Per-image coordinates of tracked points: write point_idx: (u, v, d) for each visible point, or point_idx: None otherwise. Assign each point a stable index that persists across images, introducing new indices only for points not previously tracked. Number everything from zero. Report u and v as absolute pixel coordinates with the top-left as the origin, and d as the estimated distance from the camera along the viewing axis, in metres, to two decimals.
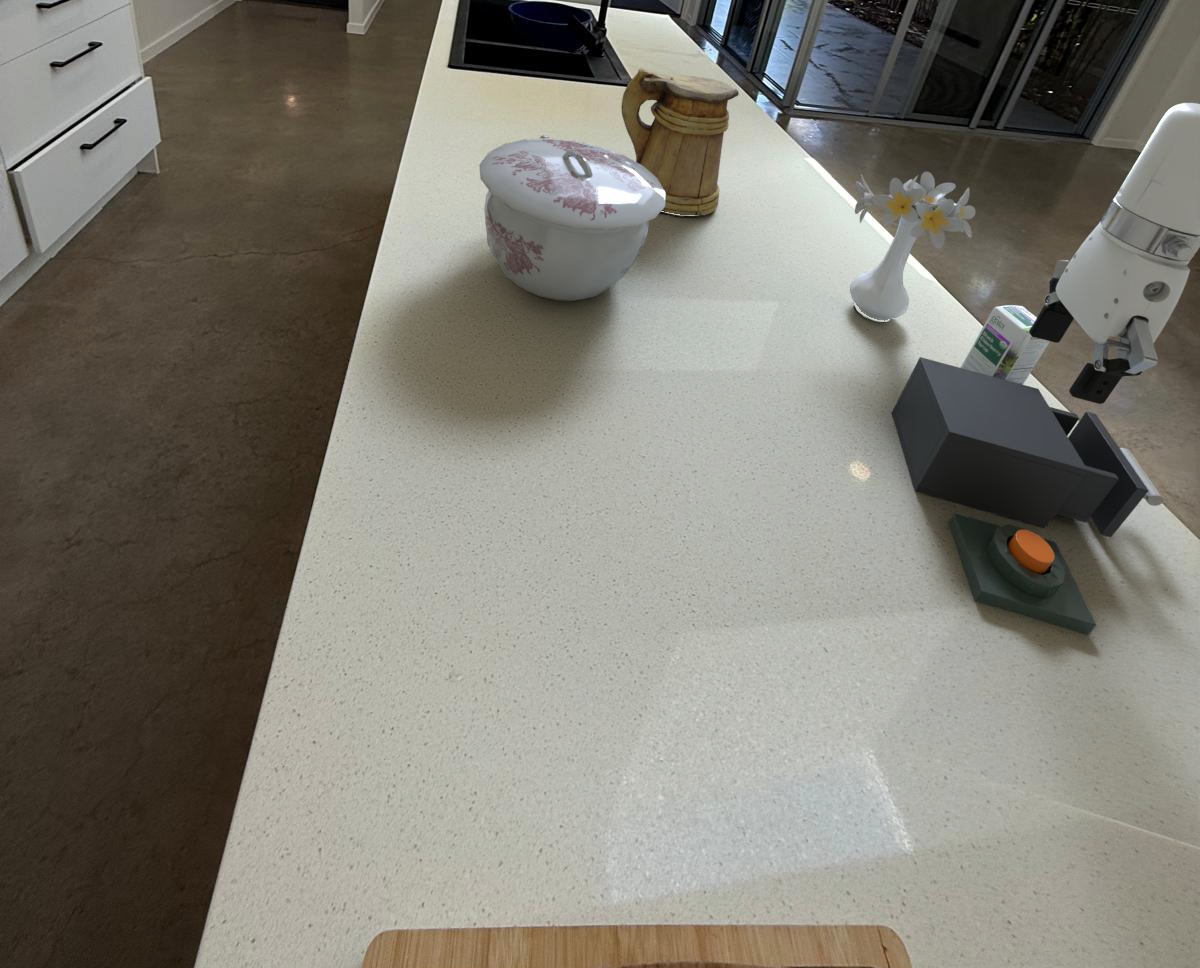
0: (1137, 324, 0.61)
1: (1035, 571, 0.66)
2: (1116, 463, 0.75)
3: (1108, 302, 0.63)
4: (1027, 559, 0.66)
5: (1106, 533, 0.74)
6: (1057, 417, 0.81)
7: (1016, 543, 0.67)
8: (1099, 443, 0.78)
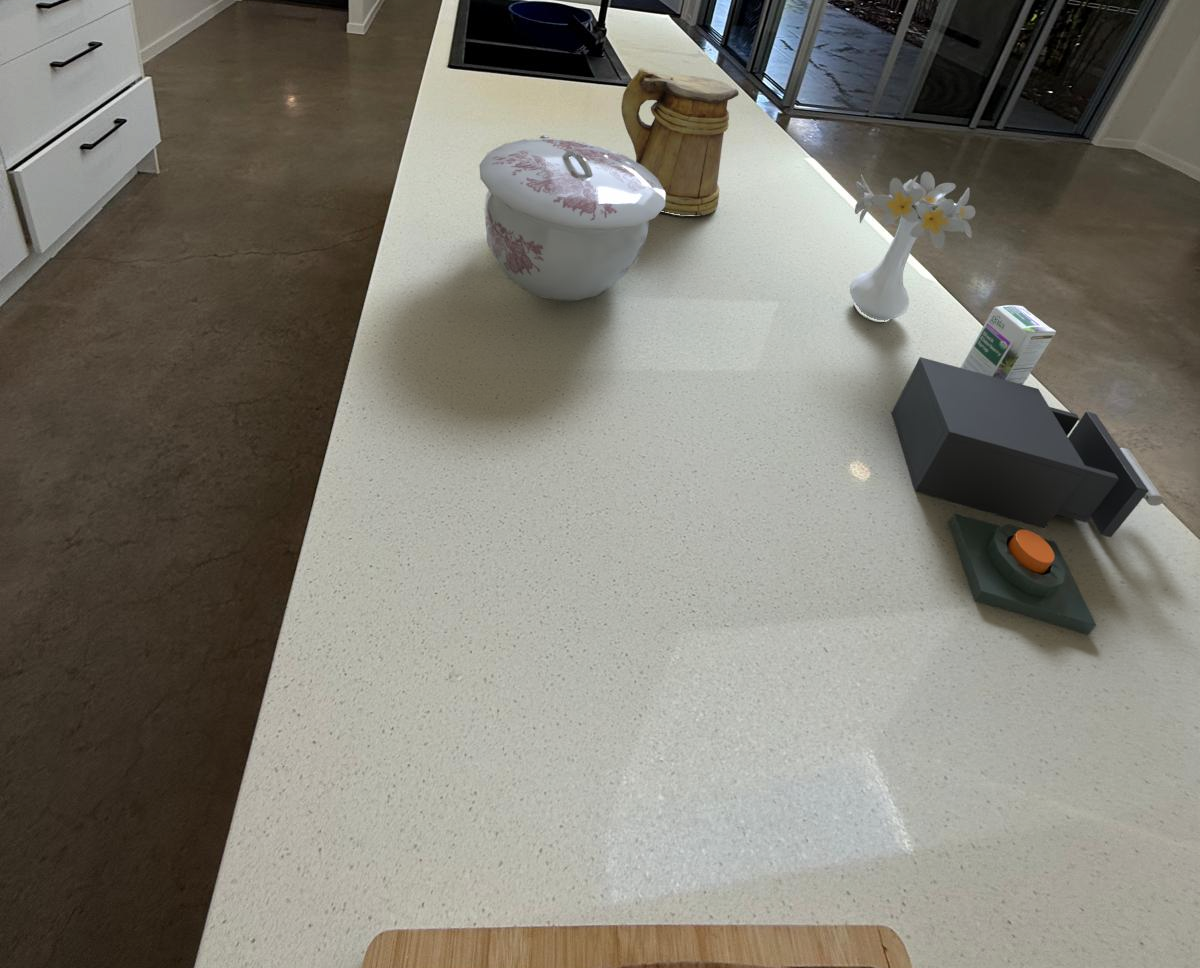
0: None
1: (1035, 571, 0.66)
2: (1116, 463, 0.75)
3: None
4: (1027, 559, 0.66)
5: (1106, 533, 0.74)
6: (1057, 417, 0.81)
7: (1016, 543, 0.67)
8: (1099, 443, 0.78)
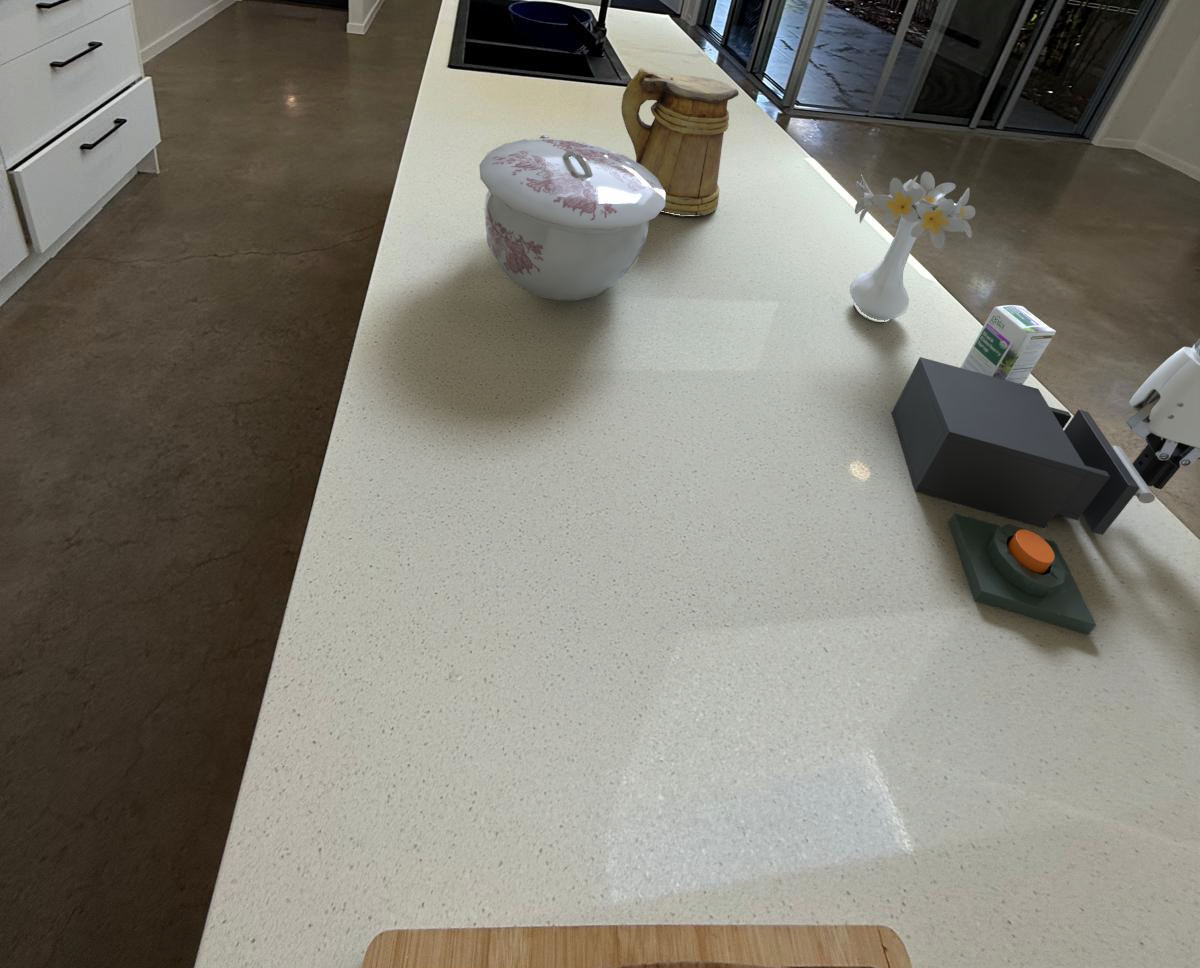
0: None
1: (1035, 571, 0.66)
2: (1107, 461, 0.75)
3: None
4: (1027, 559, 0.66)
5: (1098, 531, 0.74)
6: None
7: (1016, 543, 0.67)
8: (1090, 441, 0.78)
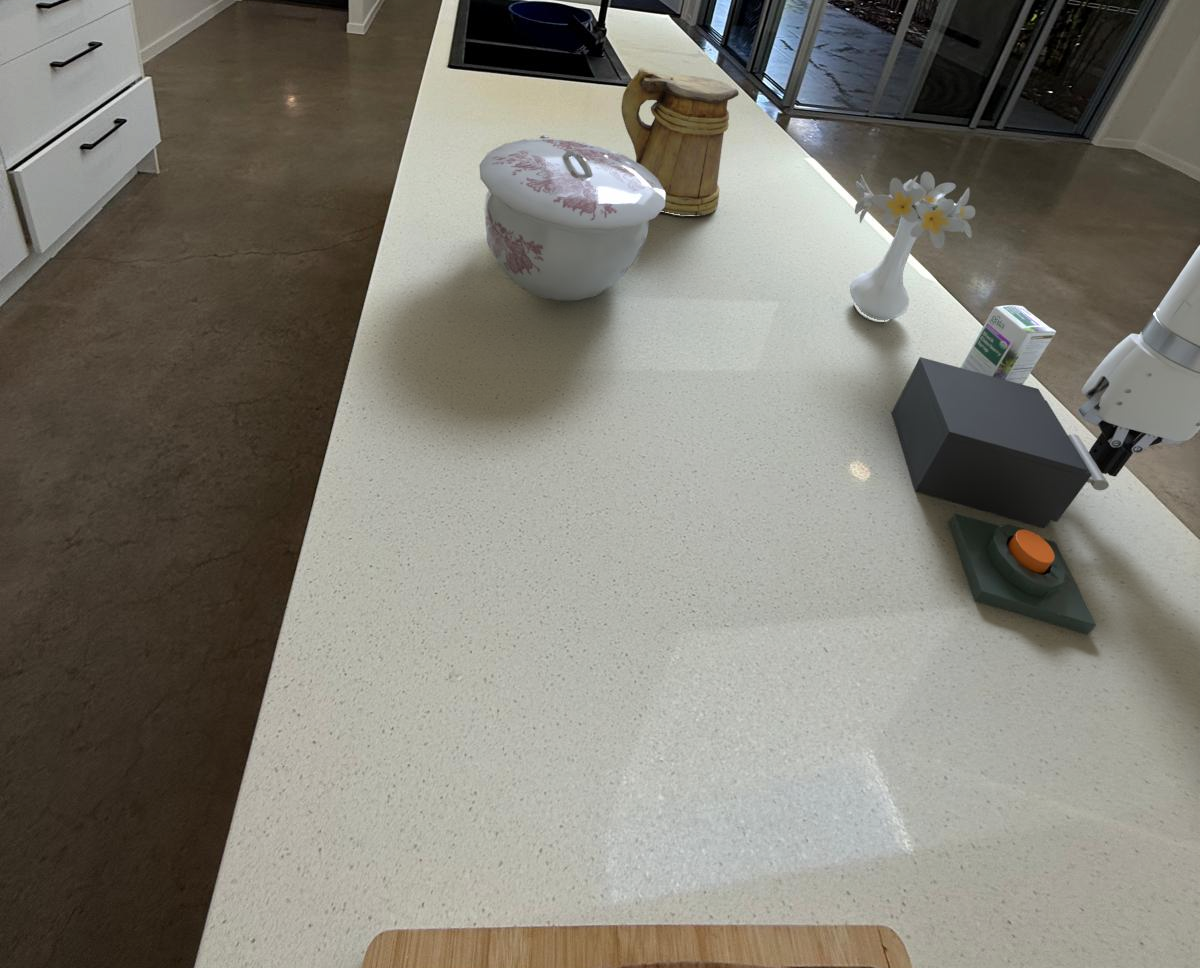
0: None
1: (1035, 571, 0.66)
2: None
3: (1199, 415, 0.71)
4: (1027, 559, 0.66)
5: (1052, 518, 0.75)
6: None
7: (1016, 543, 0.67)
8: None
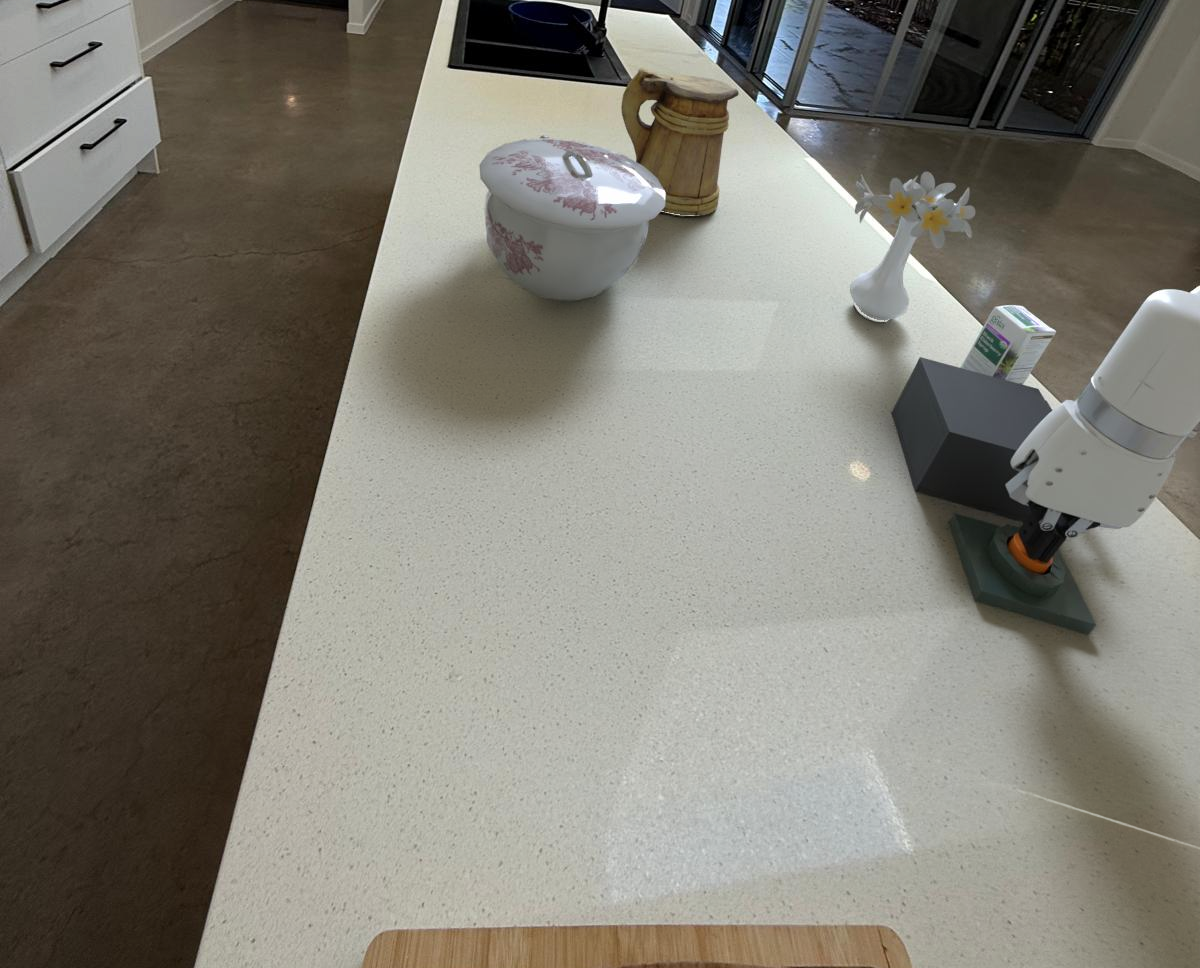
0: None
1: None
2: None
3: (1142, 500, 0.60)
4: (1025, 562, 0.66)
5: None
6: None
7: (1014, 546, 0.67)
8: None
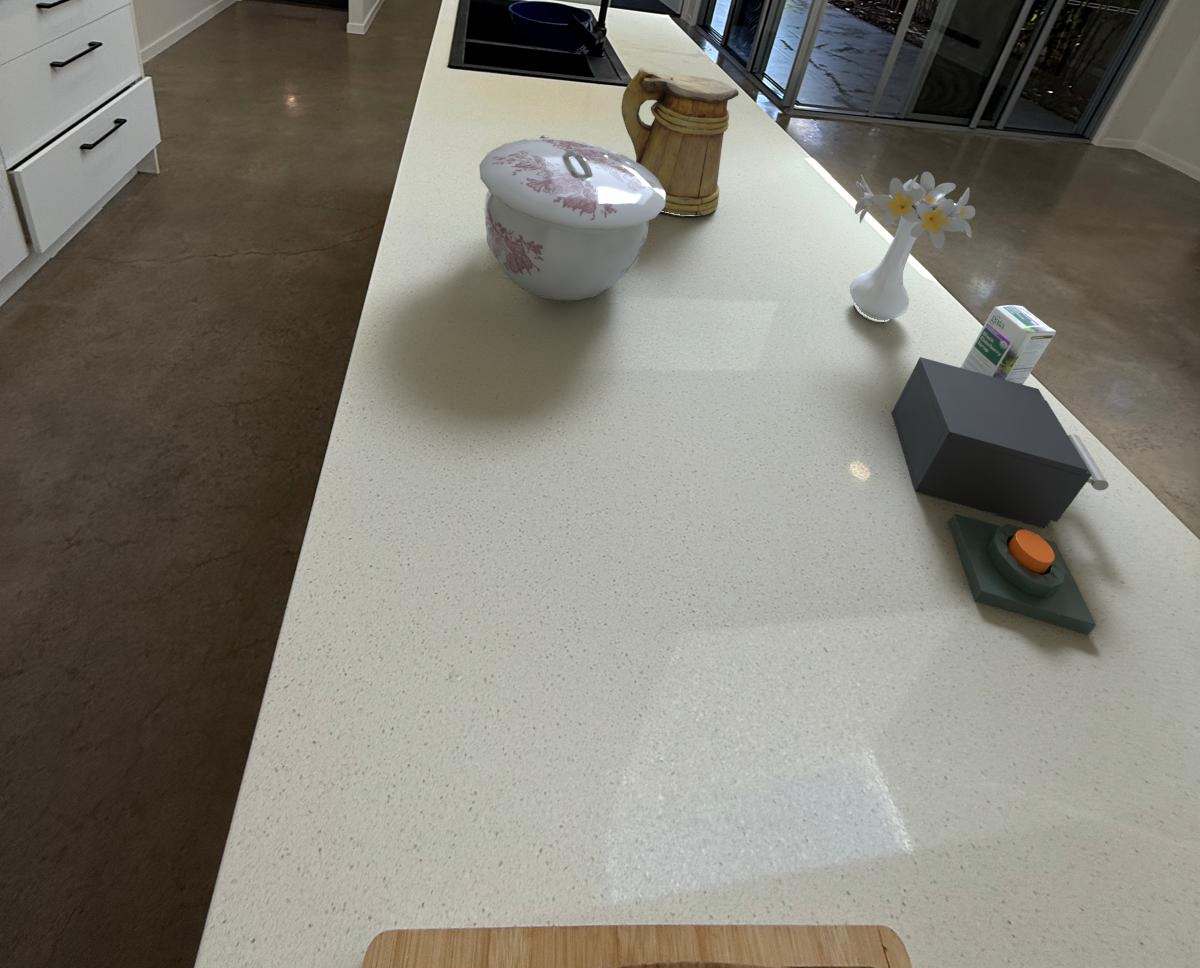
0: None
1: (1035, 571, 0.66)
2: None
3: None
4: (1027, 559, 0.66)
5: (1052, 518, 0.75)
6: None
7: (1016, 543, 0.67)
8: None
